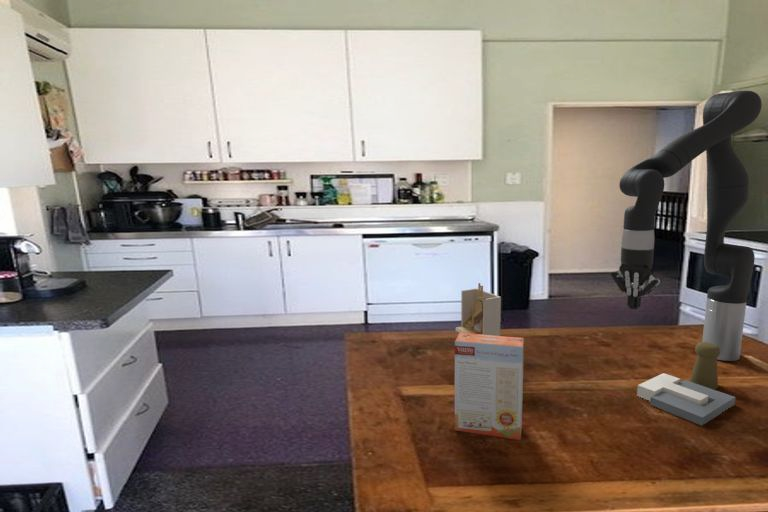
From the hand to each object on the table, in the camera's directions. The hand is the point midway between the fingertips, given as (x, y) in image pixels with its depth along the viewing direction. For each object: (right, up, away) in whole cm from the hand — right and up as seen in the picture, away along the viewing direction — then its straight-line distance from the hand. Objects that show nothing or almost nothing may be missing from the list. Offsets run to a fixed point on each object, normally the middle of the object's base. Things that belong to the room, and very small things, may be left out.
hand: (633, 308), depth 122 cm
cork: (+15, -19, -5) cm, 25 cm away
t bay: (+5, -21, -16) cm, 27 cm away
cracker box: (-45, -24, -24) cm, 56 cm away
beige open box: (-40, -18, +10) cm, 45 cm away
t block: (+3, -21, -13) cm, 25 cm away
